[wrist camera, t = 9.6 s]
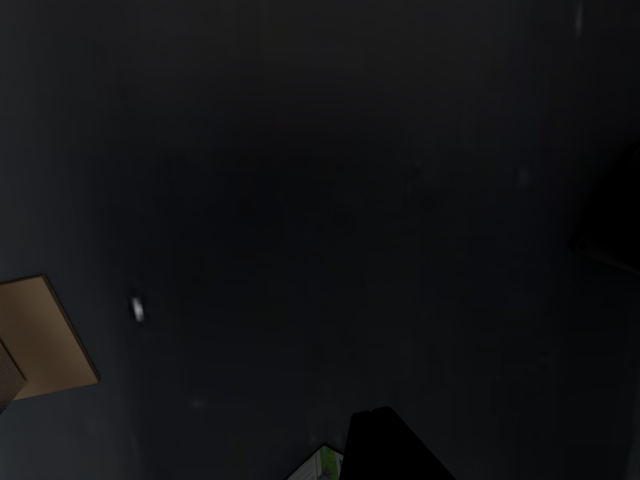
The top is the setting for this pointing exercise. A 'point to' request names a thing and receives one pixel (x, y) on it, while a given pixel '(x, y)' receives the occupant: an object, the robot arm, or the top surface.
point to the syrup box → (320, 466)
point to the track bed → (41, 339)
